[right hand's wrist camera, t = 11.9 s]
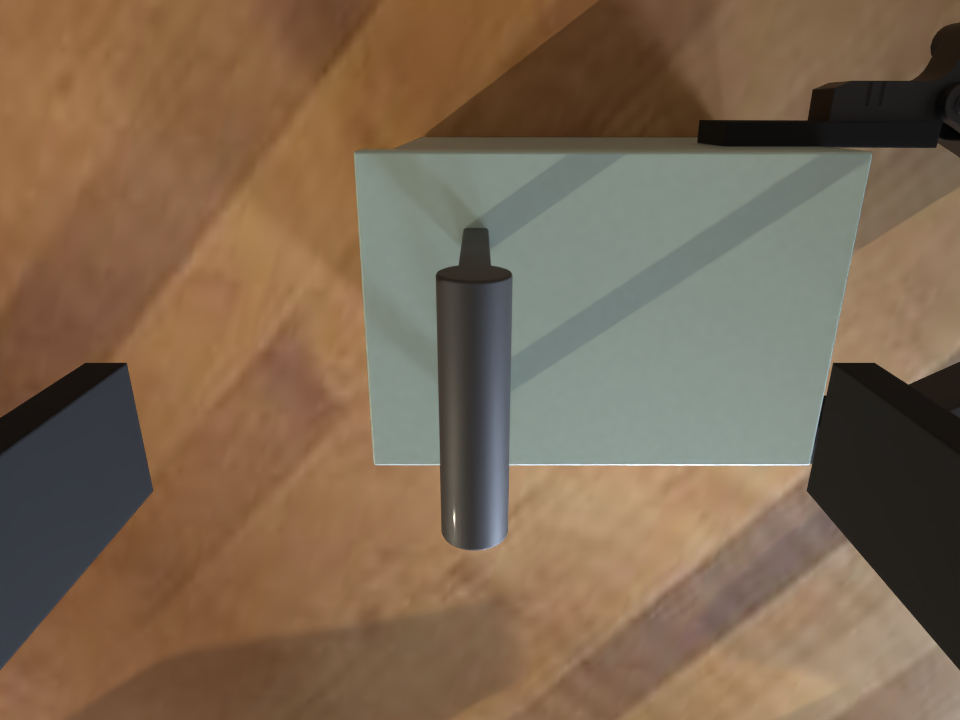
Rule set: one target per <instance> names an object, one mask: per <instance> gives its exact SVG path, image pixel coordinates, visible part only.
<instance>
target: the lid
mask: <svg viewBox="0 0 960 720" xmlns="http://www.w3.org/2000/svg"><path fill="white" fill-rule="evenodd" d="M871 159H872V152H870V151H860V150H849V149H361V150H358V151H356V152H354V165H355V181H356V196H357V212H358V228H359V243H360V259H361V275H362V290H363V306H364V322H365V337H366V353H367V369H368V384H369V400H370V416H371V431H372V447H373V462H374V465H440V483H441V526H442V534H443V536H444V538H445V539H446V541H447V542H449V543H450V544H451V545H453V546H455V547H457V548H461V549H465V550H484V549H489V548H492V547H494V546H496V545H498V544H499V543H501V542H502V541H503V540H504V539H505V537H506V535H507V532H508V497H509V465H809V464H810V461H811V456H812V451H813V446H814V441H815V436H816V431H817V426H818V421H819V416H820V411H821V406H822V401H823V396H824V391H825V386H826V382H827V377H828V372H829V367H830V362H831V357H832V352H833V347H834V342H835V337H836V332H837V327H838V322H839V317H840V312H841V307H842V302H843V298H844V293H845V288H846V283H847V278H848V273H849V268H850V263H851V258H852V253H853V248H854V243H855V238H856V233H857V228H858V223H859V218H860V214H861V209H862V204H863V199H864V194H865V189H866V184H867V179H868V174H869V169H870V164H871Z"/></svg>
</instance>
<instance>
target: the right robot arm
mask: <svg viewBox="0 0 960 720" xmlns="http://www.w3.org/2000/svg"><path fill="white" fill-rule="evenodd" d="M152 492H153V487H152V483H151V478H150V473H149V468H148V463H147V458H146V454H145V449H144V444H143V439H142V434H141V430H140V425H139V420H138V415H137V410H136V405H135V401H134V396H133V391H132V386H131V381H130V377H129V372H128V367H127V363H85V364H83V365H82V366H80V367H78V368H77V369H75V370H74V371H72V372H71V373H69V374H68V375H66V376H65V377H63V378H61V379H60V380H58V381H57V382H55V383H54V384H52V385H51V386H49V387H48V388H46V389H44V390H43V391H41V392H40V393H38V394H37V395H35V396H34V397H32V398H30V399H29V400H27V401H26V402H24V403H23V404H21V405H20V406H18V407H17V408H15V409H13V410H12V411H10V412H9V413H7V414H6V415H4V416H3V417H1V418H0V670H1V669H2V668H3V666H4V665H5V664H6V663H7V662H8V660H9V659H10V658H11V657H12V656H13V655H14V653H15V652H16V651H17V650H18V649H19V648H20V646H21V645H22V644H23V643H24V642H25V641H26V639H27V638H28V637H29V636H30V635H31V634H32V632H33V631H34V630H35V629H36V628H37V627H38V625H39V624H40V623H41V622H42V621H43V619H44V618H45V617H46V616H47V615H48V614H49V612H50V611H51V610H52V609H53V608H54V607H55V605H56V604H57V603H58V602H59V601H60V600H61V598H62V597H63V596H64V595H65V594H66V593H67V591H68V590H69V589H70V588H71V587H72V585H73V584H74V583H75V582H76V581H77V580H78V578H79V577H80V576H81V575H82V574H83V573H84V571H85V570H86V569H87V568H88V567H89V566H90V564H91V563H92V562H93V561H94V560H95V559H96V557H97V556H98V555H99V554H100V553H101V552H102V550H103V549H104V548H105V547H106V546H107V544H108V543H109V542H110V541H111V540H112V539H113V537H114V536H115V535H116V534H117V533H118V532H119V530H120V529H121V528H122V527H123V526H124V525H125V523H126V522H127V521H128V520H129V519H130V518H131V516H132V515H133V514H134V513H135V512H136V510H137V509H138V508H139V507H140V506H141V505H142V503H143V502H144V501H145V500H146V499H147V498H148V496H149V495H150V494H151V493H152ZM807 492H808V493H809V494H810V495H811V496H812V498H813V499H814V500H815V501H816V502H817V503H818V505H819V506H820V507H821V508H822V509H823V510H824V512H825V513H826V514H827V515H828V516H829V518H830V519H831V520H832V521H833V522H834V523H835V525H836V526H837V527H838V528H839V529H840V530H841V532H842V533H843V534H844V535H845V536H846V537H847V539H848V540H849V541H850V542H851V543H852V544H853V546H854V547H855V548H856V549H857V550H858V552H859V553H860V554H861V555H862V556H863V557H864V559H865V560H866V561H867V562H868V563H869V564H870V566H871V567H872V568H873V569H874V570H875V571H876V573H877V574H878V575H879V576H880V577H881V578H882V580H883V581H884V582H885V583H886V584H887V585H888V587H889V588H890V589H891V590H892V591H893V593H894V594H895V595H896V596H897V597H898V598H899V600H900V601H901V602H902V603H903V604H904V605H905V607H906V608H907V609H908V610H909V611H910V612H911V614H912V615H913V616H914V617H915V618H916V619H917V621H918V622H919V623H920V624H921V625H922V627H923V628H924V629H925V630H926V631H927V632H928V634H929V635H930V636H931V637H932V638H933V639H934V641H935V642H936V643H937V644H938V645H939V646H940V648H941V649H942V650H943V651H944V652H945V653H946V655H947V656H948V657H949V658H950V659H951V660H952V662H953V663H954V664H955V665H956V666H957V668H958V669H959V670H960V418H959V417H957V416H956V415H954V414H953V413H951V412H950V411H948V410H947V409H945V408H943V407H942V406H940V405H939V404H937V403H936V402H934V401H933V400H931V399H930V398H928V397H926V396H925V395H923V394H922V393H920V392H919V391H917V390H916V389H914V388H912V387H911V386H909V385H908V384H906V383H905V382H903V381H902V380H900V379H899V378H897V377H895V376H894V375H892V374H891V373H889V372H888V371H886V370H885V369H883V368H882V367H880V366H878V365H877V364H875V363H833V367H832V372H831V377H830V381H829V386H828V391H827V396H826V401H825V405H824V410H823V415H822V420H821V425H820V430H819V434H818V439H817V444H816V449H815V454H814V458H813V463H812V468H811V473H810V478H809V483H808V487H807Z"/></svg>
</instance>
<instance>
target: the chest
mask: <svg viewBox="0 0 960 720" xmlns="http://www.w3.org/2000/svg"><path fill="white" fill-rule="evenodd" d="M697 139H698V137H420V138H418V139H416V140H413V141H411V142H409V143H406V144H404V145H401V146H399V147H396V148H394V149H840V148H830V147H725V146H717V145H710V144H702V143H697Z"/></svg>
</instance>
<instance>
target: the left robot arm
mask: <svg viewBox="0 0 960 720" xmlns="http://www.w3.org/2000/svg"><path fill="white" fill-rule="evenodd" d="M931 55H932V58H931V60H930V62H929V63H928V65H927V67H926V68H925V70H924V71H923V72H922V73H921V74H920V75H919V76H918V77H916V78H915V79H913V80H911V81H846V82H834V83H828V84H825V85H823V86H820V87H818V88H815V89H813V92H812V98H811V104H810V110H809V116H808V121H793V120H700V122H699V131H698V139H697V143H702V144H710V145H717V146H725V147H870V148H936V146H937V142H938V143H939V144H941V145H942V146H944V147H945V148H947V149H948V150H950V151H951V152H953V153H954V154H956V155H957V156H959V157H960V23H955V24H950V25H948V26H945V27H943V28H942V29H941V30H939V31H938V32H937V34H936V35H935V37H934V38H933V40H932V44H931ZM909 386H911V387H912V388H914V389H916V390H917V391H919V392H920V393H922V394H923V395H925V396H926V397H928V398H930V399H931V400H933V401H934V402H936V403H937V404H939V405H940V406H942V407H943V408H945V409H947V410H948V411H950V412H951V413H953V414H954V415H956V416H957V417H959V418H960V362H958V363H956V364H954V365H952V366H949V367H947V368H945V369H943V370H940V371H938V372H936V373H934V374H931V375H929V376H927V377H925V378H923V379H920V380H918V381H916V382H914V383H911V384H909ZM825 401H826V396H823V401H822V406H821V411H820V416H819V421H818V426H817V431H816V436H815V441H814V446H813V451H812V456H811V461H810V464H812V463H813V458H814V454H815V449H816V444H817V439H818V434H819V430H820V425H821V420H822V415H823V410H824V405H825Z"/></svg>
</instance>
